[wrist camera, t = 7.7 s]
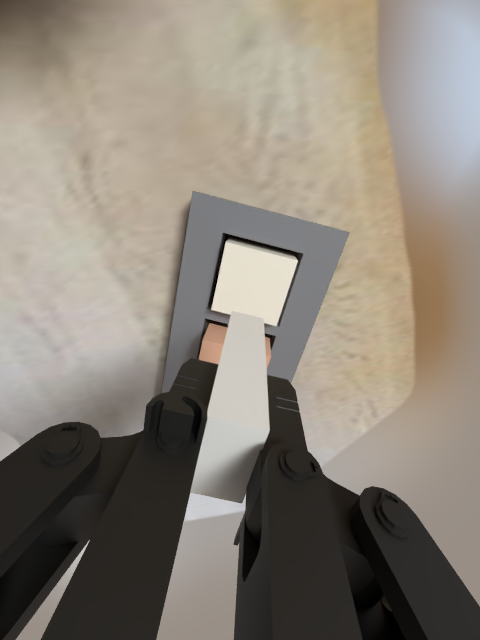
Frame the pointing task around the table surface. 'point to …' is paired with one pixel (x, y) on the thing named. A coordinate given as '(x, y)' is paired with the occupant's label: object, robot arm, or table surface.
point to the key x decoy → (221, 344)
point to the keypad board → (202, 265)
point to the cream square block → (253, 280)
